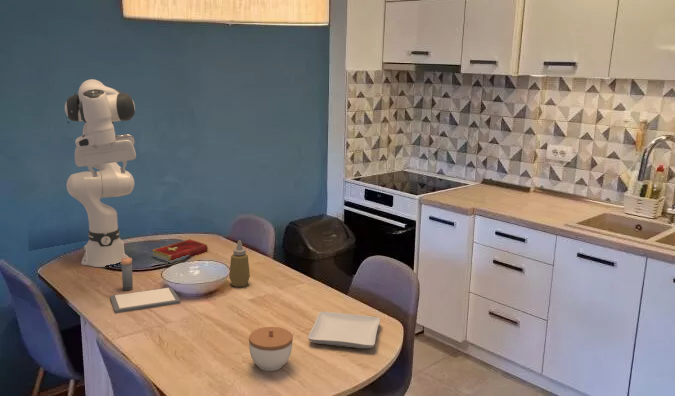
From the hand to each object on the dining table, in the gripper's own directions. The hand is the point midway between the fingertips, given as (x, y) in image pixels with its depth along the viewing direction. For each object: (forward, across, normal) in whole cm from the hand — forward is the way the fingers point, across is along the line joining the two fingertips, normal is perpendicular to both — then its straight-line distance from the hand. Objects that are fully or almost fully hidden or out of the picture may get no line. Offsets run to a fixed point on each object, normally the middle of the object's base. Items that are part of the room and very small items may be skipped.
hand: (109, 174), depth 211 cm
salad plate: (+48, -66, +60) cm, 101 cm away
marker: (+44, +1, +4) cm, 44 cm away
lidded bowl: (+44, -39, +72) cm, 93 cm away
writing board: (+44, -5, +16) cm, 47 cm away
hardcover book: (+50, -20, -31) cm, 63 cm away
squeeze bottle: (+49, -40, +9) cm, 64 cm away
